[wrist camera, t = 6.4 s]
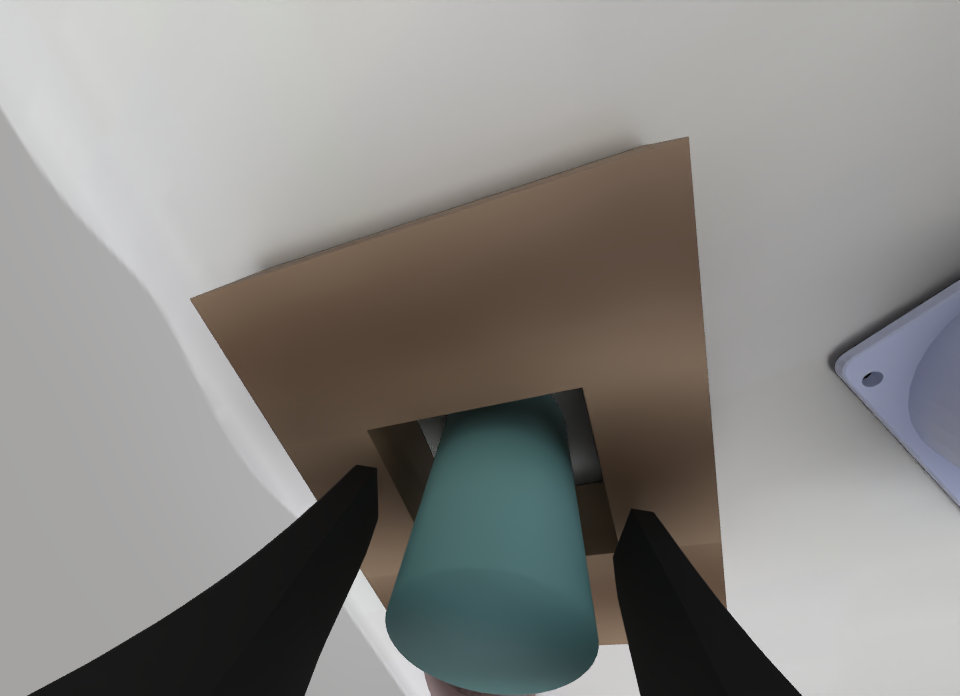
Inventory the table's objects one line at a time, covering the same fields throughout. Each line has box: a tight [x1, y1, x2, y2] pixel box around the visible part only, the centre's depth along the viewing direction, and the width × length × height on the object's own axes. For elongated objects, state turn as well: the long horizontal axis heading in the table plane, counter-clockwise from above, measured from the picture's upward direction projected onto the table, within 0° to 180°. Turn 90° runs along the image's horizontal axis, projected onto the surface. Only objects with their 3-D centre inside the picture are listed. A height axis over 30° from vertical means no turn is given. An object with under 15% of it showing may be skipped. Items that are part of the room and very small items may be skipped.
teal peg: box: [385, 394, 599, 695], centre depth 11 cm, size 4×4×7 cm
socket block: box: [190, 137, 727, 645], centre depth 13 cm, size 16×12×3 cm
